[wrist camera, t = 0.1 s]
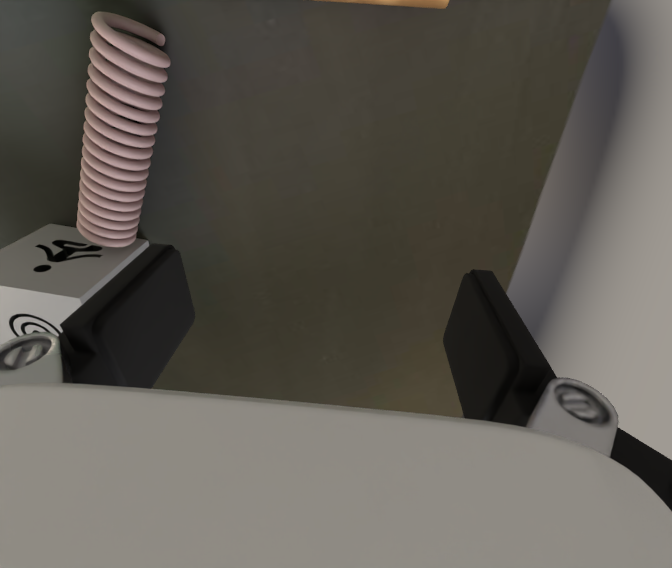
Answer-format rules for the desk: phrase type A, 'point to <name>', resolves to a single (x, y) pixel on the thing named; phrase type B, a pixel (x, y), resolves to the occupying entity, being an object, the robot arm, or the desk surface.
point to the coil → (121, 152)
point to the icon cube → (54, 277)
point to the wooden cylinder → (400, 2)
